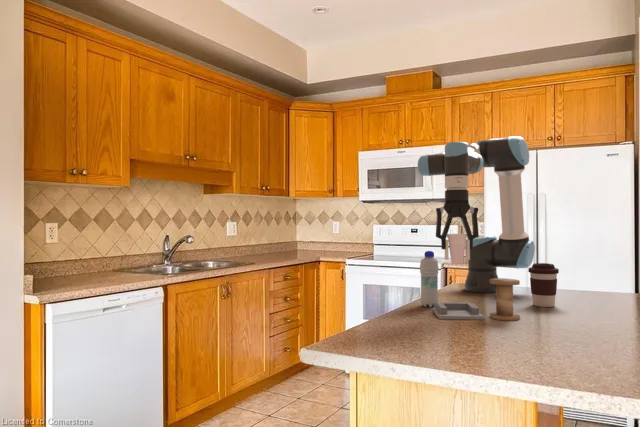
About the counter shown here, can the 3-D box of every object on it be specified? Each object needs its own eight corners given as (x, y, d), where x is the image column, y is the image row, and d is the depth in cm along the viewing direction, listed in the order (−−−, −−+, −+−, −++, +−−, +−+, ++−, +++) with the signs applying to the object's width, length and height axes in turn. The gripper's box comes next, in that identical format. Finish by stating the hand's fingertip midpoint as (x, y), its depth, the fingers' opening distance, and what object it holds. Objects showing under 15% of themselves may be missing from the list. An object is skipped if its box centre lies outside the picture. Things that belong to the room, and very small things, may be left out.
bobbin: (486, 314, 161) (486, 278, 161) (514, 315, 160) (514, 278, 160) (494, 320, 152) (493, 282, 152) (523, 321, 151) (523, 282, 151)
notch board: (432, 310, 169) (432, 301, 169) (474, 310, 168) (474, 302, 168) (439, 319, 155) (439, 309, 155) (484, 319, 154) (484, 310, 154)
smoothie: (468, 264, 157) (467, 221, 157) (447, 264, 159) (447, 221, 159) (466, 262, 164) (465, 220, 164) (446, 262, 165) (446, 221, 165)
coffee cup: (564, 308, 171) (563, 265, 171) (535, 308, 172) (535, 265, 172) (551, 303, 181) (551, 262, 181) (524, 303, 181) (524, 262, 181)
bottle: (437, 304, 180) (437, 250, 180) (440, 308, 173) (439, 251, 173) (419, 304, 180) (418, 250, 180) (421, 307, 174) (420, 251, 174)
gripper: (428, 189, 158) (429, 260, 158) (489, 188, 157) (489, 260, 157) (425, 190, 166) (426, 258, 166) (483, 189, 164) (483, 258, 164)
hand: (457, 259), depth 161 cm, fingers closed on smoothie, 6 cm apart
